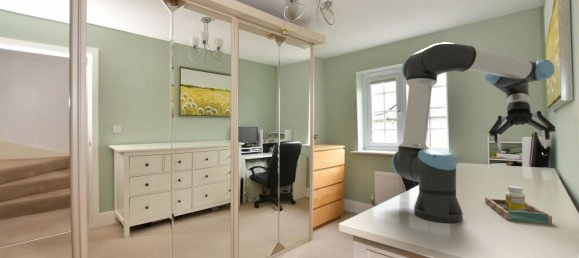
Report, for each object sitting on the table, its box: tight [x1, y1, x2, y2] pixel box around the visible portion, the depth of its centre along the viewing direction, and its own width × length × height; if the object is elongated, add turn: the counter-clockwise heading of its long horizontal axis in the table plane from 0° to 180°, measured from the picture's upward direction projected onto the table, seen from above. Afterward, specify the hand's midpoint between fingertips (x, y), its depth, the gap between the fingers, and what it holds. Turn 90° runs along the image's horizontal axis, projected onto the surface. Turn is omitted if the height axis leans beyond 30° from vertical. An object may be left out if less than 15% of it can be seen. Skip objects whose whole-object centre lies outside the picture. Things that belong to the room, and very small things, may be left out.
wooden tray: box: [484, 196, 553, 225], centre depth 96 cm, size 22×12×3 cm, turn 158°
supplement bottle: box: [505, 185, 526, 212], centre depth 95 cm, size 5×5×10 cm
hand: (521, 147), depth 102 cm, fingers open, 13 cm apart
